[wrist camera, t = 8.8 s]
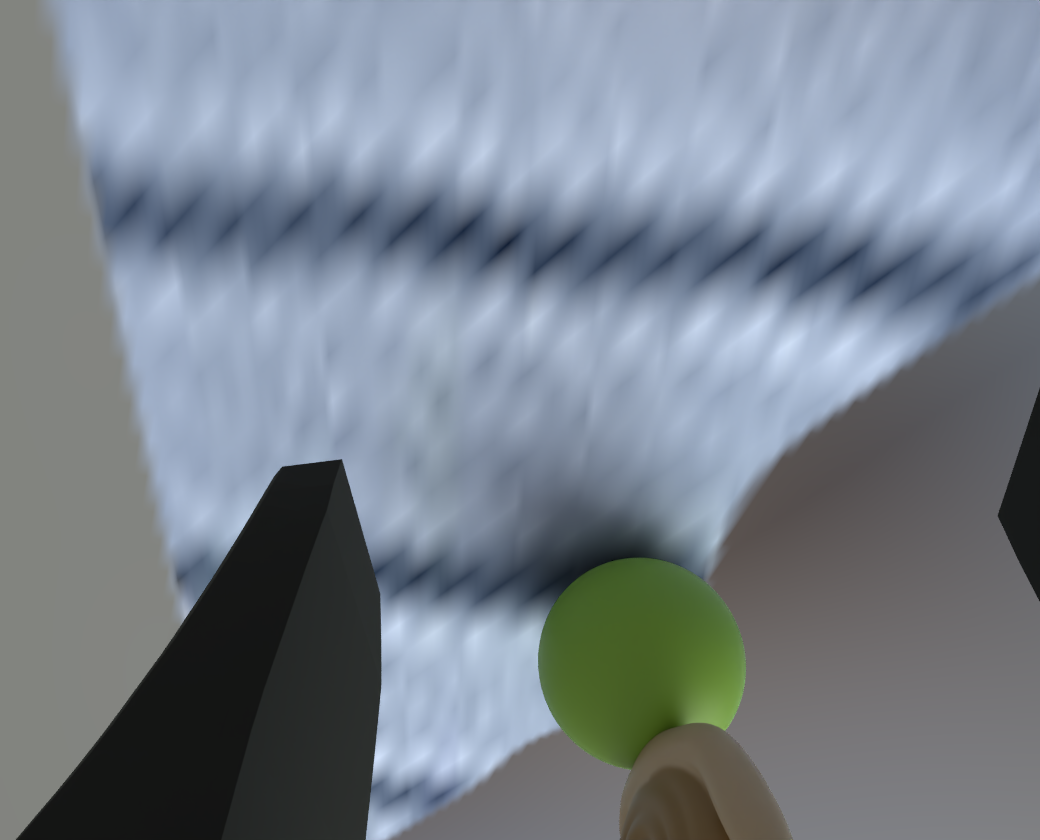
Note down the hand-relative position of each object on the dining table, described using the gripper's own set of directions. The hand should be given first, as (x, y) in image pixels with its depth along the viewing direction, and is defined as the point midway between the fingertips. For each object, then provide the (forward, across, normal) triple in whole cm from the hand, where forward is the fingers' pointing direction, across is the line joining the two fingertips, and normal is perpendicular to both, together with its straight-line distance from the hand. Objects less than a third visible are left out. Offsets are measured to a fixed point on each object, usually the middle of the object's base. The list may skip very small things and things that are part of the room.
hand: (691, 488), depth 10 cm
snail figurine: (+11, -1, +13) cm, 17 cm away
